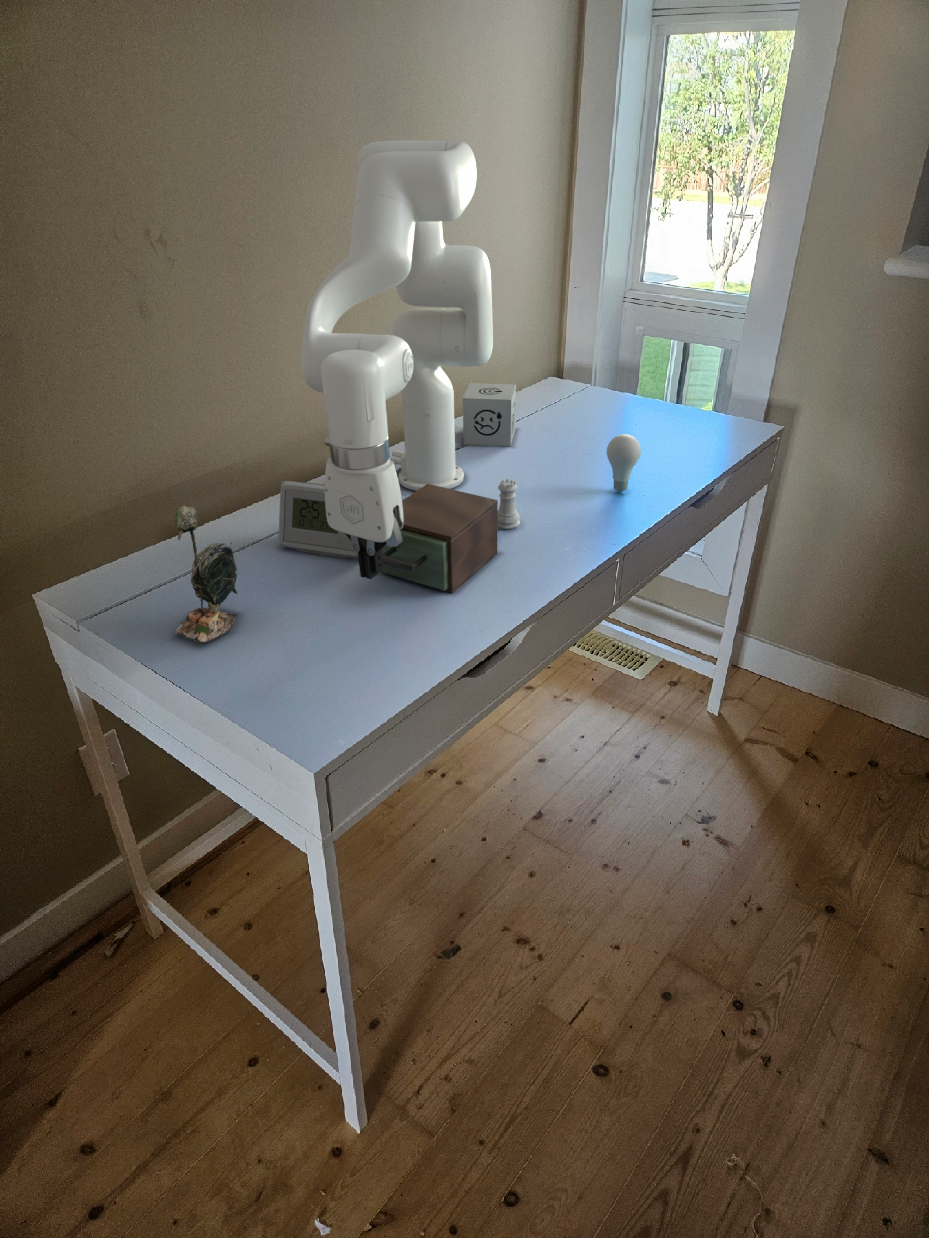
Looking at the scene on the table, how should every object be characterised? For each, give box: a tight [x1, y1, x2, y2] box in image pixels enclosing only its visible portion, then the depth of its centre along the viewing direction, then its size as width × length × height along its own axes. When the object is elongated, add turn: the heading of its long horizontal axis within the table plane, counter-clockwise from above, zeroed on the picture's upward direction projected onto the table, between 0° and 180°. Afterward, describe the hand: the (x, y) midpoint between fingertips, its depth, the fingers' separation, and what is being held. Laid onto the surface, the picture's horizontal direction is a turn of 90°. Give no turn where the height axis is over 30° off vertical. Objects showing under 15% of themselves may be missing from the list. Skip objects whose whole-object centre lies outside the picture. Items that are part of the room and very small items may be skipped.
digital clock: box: [278, 480, 358, 559], centre depth 135 cm, size 16×9×11 cm, turn 61°
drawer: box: [380, 529, 449, 592], centre depth 127 cm, size 17×12×8 cm
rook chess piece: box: [497, 478, 521, 531], centre depth 141 cm, size 4×4×8 cm
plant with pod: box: [174, 505, 239, 645], centre depth 113 cm, size 8×11×20 cm
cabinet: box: [382, 484, 499, 594], centre depth 130 cm, size 14×13×10 cm
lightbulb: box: [606, 433, 642, 493], centre depth 151 cm, size 6×6×11 cm
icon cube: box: [462, 382, 517, 447], centre depth 176 cm, size 10×10×10 cm
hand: (371, 573), depth 116 cm, fingers closed
